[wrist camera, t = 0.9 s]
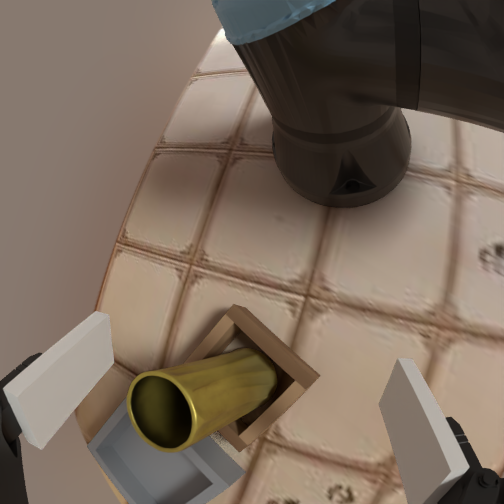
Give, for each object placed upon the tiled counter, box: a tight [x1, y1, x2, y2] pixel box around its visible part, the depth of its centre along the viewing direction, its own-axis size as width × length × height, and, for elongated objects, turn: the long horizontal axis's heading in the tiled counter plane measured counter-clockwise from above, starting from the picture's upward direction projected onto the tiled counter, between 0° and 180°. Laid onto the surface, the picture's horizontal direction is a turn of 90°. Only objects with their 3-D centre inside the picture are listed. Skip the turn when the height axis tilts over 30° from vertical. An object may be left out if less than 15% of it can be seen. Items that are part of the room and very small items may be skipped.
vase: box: [126, 348, 277, 453], centre depth 22 cm, size 6×6×14 cm
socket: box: [183, 304, 320, 452], centre depth 27 cm, size 10×10×3 cm
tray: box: [87, 397, 246, 504], centre depth 27 cm, size 14×14×4 cm
